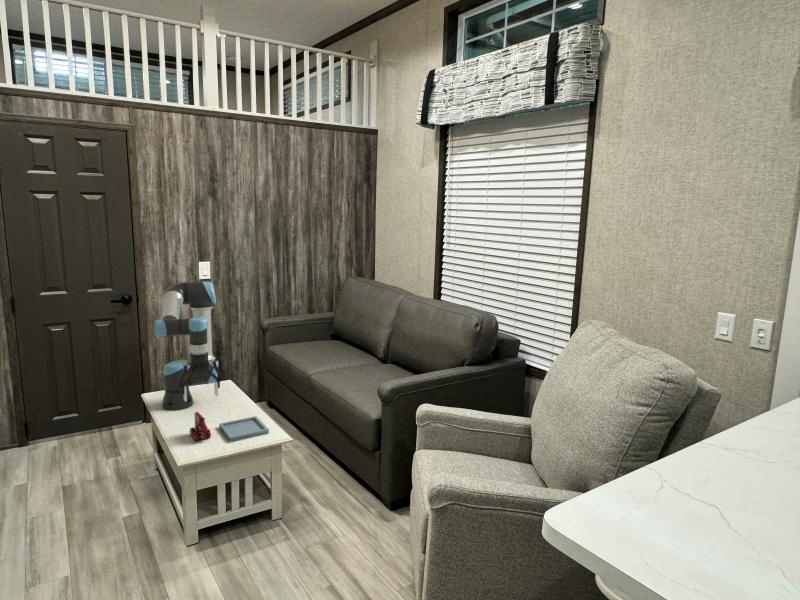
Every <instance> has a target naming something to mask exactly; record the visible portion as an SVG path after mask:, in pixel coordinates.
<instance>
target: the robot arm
mask: <svg viewBox="0 0 800 600" xmlns="http://www.w3.org/2000/svg"><path fill="white" fill-rule="evenodd" d="M162 303H163V307H162V312H161V317H160V319H156V320H155V321H154V333H155V335H156V336H157V337H172V336H173V337H175V336H188V337H189V352H190V354H189V357H190V358H189V360H190V362H188V360H187V359H177V360H174V361H170V362H168V363H166V364H165V365H164V367H163V377H164V379H163V380H164V394H163V398H162V401H161V407H162V408H163V409H164V410H168V411H178V410H179V411H180V410H184V409H188V408H190V407H191V406H193V404H194V398H193V395H192V393H191V391H190V386H196V385H197V386H198V385H199V386H200V385H210V384H214V395H215V396H216V397H218V396H219V389H220V387H221V381H222V380H224V379H225V378H224V376H223V374H222V373H221V371H220V370H219V361H218V360H216V357H215V356H214V355H213V339H212V338H213V337H212V336H213V335H212V319H211V318H212V317H211V315H212V314H211V311H212V309H213V308H214V304H216V303H217V300H216V294H215V289H214V284H213V282H211V281H181V282H177V283H175V284H172V285H171V286H170V287H168V288H167V289H166V290H165V291H164V293H163V296H162ZM182 305H183V306H184V305H189V308H190V309H191V310H192V316H193V317H191V318H189V317H188V318H180V313H181V306H182Z"/></svg>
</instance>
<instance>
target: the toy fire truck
mask: <svg viewBox="0 0 800 600" xmlns="http://www.w3.org/2000/svg"><path fill="white" fill-rule="evenodd" d="M189 433H190V436H191V438H193V440H194V442H197V441H199V439H202V440H203V439H204V440H206V439H209V438H211V436H212V434H211V430H210V429H209V428H208V426H207V425H206V418H205V417H203V416H202V415H201V414H200V412H198V411H195V412H194V427H190V429H189Z"/></svg>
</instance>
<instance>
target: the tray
mask: <svg viewBox="0 0 800 600" xmlns="http://www.w3.org/2000/svg"><path fill="white" fill-rule="evenodd" d="M218 424H219V425H218V428H219V429H220V431H221V432H222V433H223V434H224V436H225V437H226V439H228V441H229V442H230V443H233V442H237V441H241V440H246V439H250V437H251V438H254V436H255V437H258V436H259V435H260V436H264V435H268V433H269V434H270V429H269V428H268V427H267V426H266V424H264V423H263V421H261V420H260V418H259V417H258V416H257V415H256V416H255V415H254V416H251V417H245V418H239V419H235V420H231V421H229V420H228V421H226V422H221V423H218ZM263 434H264V435H263Z"/></svg>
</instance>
